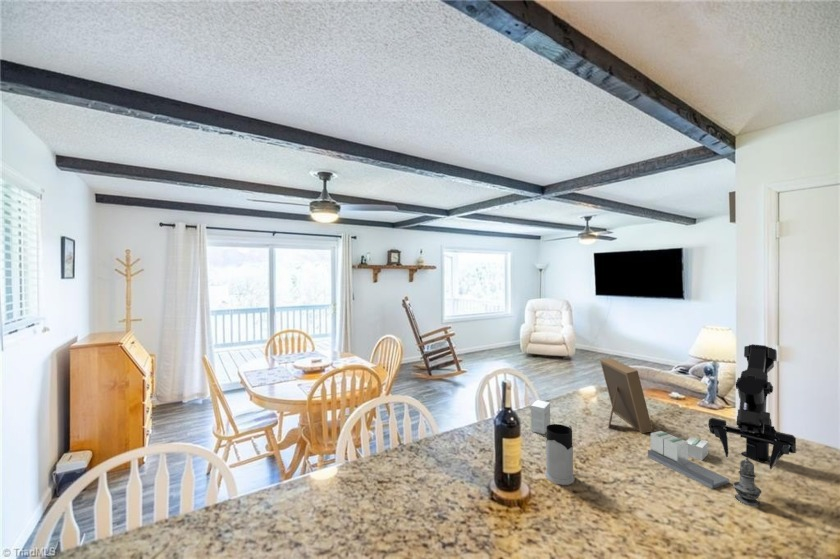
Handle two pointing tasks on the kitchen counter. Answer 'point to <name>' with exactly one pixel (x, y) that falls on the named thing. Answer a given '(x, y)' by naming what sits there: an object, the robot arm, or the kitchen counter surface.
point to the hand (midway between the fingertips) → (748, 462)
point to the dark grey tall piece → (747, 484)
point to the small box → (540, 416)
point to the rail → (699, 470)
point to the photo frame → (626, 394)
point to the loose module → (697, 448)
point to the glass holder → (559, 454)
